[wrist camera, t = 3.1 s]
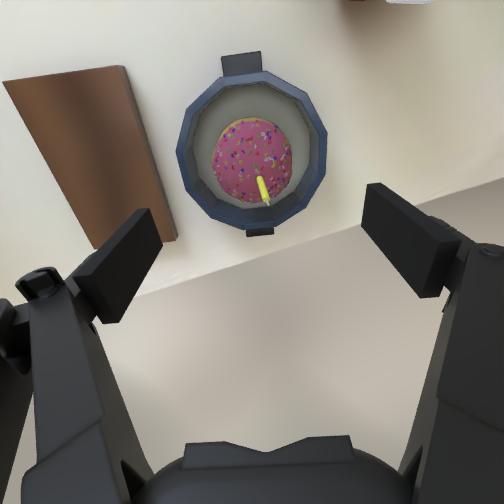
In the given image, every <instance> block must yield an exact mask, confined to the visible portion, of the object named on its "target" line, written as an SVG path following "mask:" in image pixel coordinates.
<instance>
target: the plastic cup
mask: <svg viewBox="0 0 504 504" xmlns="http://www.w3.org/2000/svg"><path fill="white" fill-rule="evenodd" d="M356 1H364V0H356ZM386 1H387V2H389V3H410V4H426V3H429V2H431V1H433V0H386Z"/></svg>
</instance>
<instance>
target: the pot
mask: <svg viewBox="0 0 504 504" xmlns="http://www.w3.org/2000/svg"><path fill="white" fill-rule="evenodd" d="M221 62H222V69H223V76H224V77H219V78H218V79H217V80H216V81H215V82H214V83H213V84H212V85H211V86H210V87H209V88H208V89H207V90H206V91H205V92H204V93H203V94H201V95H200V96H199V97H198V98H197V99H196V100H195V101H194V102H193V103H192V104H191V105H190V106H189V107H188V108H187V109H186V112H185V116H184V120H183V124H182V128H181V132H180V136H179V140H178V144H177V148H176V156H177V159H178V163H179V167H180V171H181V174H182V178H183V182H184V186H185V189H186V191H187V192H188V194H189V195H190V196H191V197H192V198H193V199H194V200H195V201H196V202H197V203H198V205H199V206H200V207H201V208H202V209H203V210H204V211H205V212H206V213H207V214H208V215H209V217H210V218H212V219H215V220H218V221H220V222H223V223H225V224H228V225H231V226H233V227H236V228H239V229H241V230H246V236H247V237H253V236H263V235H272V234H274V227H277V226H278V225H280V224H281V223H283V222H284V221H286V220H287V219H289V218H291V217H292V216H294V215H295V214H297V213H298V212H300V211H302V210H303V209H305V208H306V207H307V205H308V203H309V202H310V200H311V198H312V196H313V195H314V193H315V191H316V190H317V188H318V186H319V185H320V183H321V181H322V180H323V178H324V176H325V173H326V153H327V131H326V129H325V127H324V125H323V123H322V121H321V119H320V117H319V116H318V114H317V112H316V110H315V108H314V106H313V104H312V102H311V100H310V98H309V96H308V94H307V93H306V92H304V91H302V90H300V89H299V88H297V87H295V86H293V85H291V84H289V83H288V82H286V81H284V80H282V79H280V78H279V77H277V76H275V75H273V74H271V73H269V72H268V71H262V58H261V51H256V52H249V53H242V54H235V55H228V56H222V57H221ZM260 83H263V84H265V85H267V86H269V87H271V88H272V89H274V90H276V91H278V92H280V93H282V94H284V95H286V96H287V97H289V98H291V99H293V100H294V101H295V103H296V105H297V107H298V109H299V111H300V112H301V114H302V116H303V118H304V120H305V121H306V123H307V125H308V127H309V129H310V165H309V167H308V168H307V170H306V172H305V174H304V176H303V177H302V179H301V181H300V183H299V185H298V187H297V188H296V190H295V191H294V192H293V193H291V194H290V195H288V196H287V197H285V198H284V199H282V200H281V201H279V202H278V203H276V204H275V205H273V206H272V207H264V208H255V209H246V210H244V209H241V208H239V207H236V206H234V205H231V204H229V203H226V202H224V201H221V200H219V199H218V198H217V197H216V196H215V195H214V194H213V193H212V191H211V190H210V189H209V188H208V187H207V186H206V184H205V183H204V182H203V181H202V180H201V179H200V177H199V175H198V170H197V166H196V162H195V157H194V153H193V149H192V143H193V139H194V136H195V132H196V128H197V125H198V121H199V118H200V114H201V112H202V111H203V110H204V109H205V108H206V107H207V106H208V105H209V104H210V103H211V102H212V101H214V100H215V99H216V98H217V97H218V96H219V95H220V94H221V93H222V92H223V91H224V90H225V89H227V88H230V87H238V86H245V85H252V84H260Z"/></svg>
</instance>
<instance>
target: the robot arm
mask: <svg viewBox="0 0 504 504" xmlns="http://www.w3.org/2000/svg"><path fill="white" fill-rule="evenodd" d="M361 227H362V228H363V229H364V230H365V231H366V233H367V234H368V235H369V236H370V238H371V239H372V240H373V241H374V243H375V244H376V245H377V246H378V247H379V249H380V250H381V251H382V252H383V253H384V255H385V256H386V257H387V258H388V260H389V261H390V262H391V263H392V264H393V266H394V267H395V268H396V269H397V271H398V272H399V273H400V274H401V276H402V277H403V278H404V279H405V280H406V282H407V283H408V284H409V285H410V287H411V288H412V289H413V290H414V292H415V293H416V294H417V295H418V296H419V298H431V297H439V296H440V294H441V291H442V289H443V286H445V287H446V288H447V289H448V290H449V291H450V294H449V297H448V299H447V301H446V304H445V306H444V309H443V310H442V312H443V313H444V314H443V317H442V321H441V325H440V328H439V332H438V336H437V339H436V343H435V346H434V350H433V354H432V357H431V361H430V365H429V368H428V372H427V376H426V379H425V383H424V387H423V390H422V394H421V397H420V401H419V404H418V408H417V412H416V416H415V419H414V423H413V426H412V430H411V433H410V437H409V441H408V444H407V447H406V450H405V453H404V455H403V458H402V461H401V463H400V466H399V469H398V472H397V471H396V470H395V469H394V468H392V467H391V466H389V465H388V464H387V463H385V462H383V461H382V460H380V459H378V458H377V457H375V456H373V455H371V454H369V453H366V452H364V451H361V450H358V449H355V448H353V447H352V443H351V440H350V436H349V435H344V436H323V437H307V438H305V439H302V440H299V441H297V442H294V443H292V444H289V445H287V446H284V447H281V448H279V449H276V450H274V451H271V452H261V451H257V450H253V449H250V448H247V447H243V446H239V445H236V444H232V443H229V442H225V441H222V442H204V443H203V442H202V443H186V445H185V451H184V456H183V457H181V458H179V459H177V460H175V461H173V462H171V463H169V464H168V465H166V466H165V467H164V468H162V469H161V470H159V471H158V472H157V473H156V474H155V475H154V473H153V471H152V469H151V468H150V466H149V464H148V462H147V460H146V458H145V456H144V454H143V451H142V448H141V446H140V443H139V440H138V438H137V435H136V433H135V430H134V427H133V425H132V422H131V419H130V417H129V414H128V411H127V409H126V406H125V404H124V401H123V398H122V396H121V393H120V390H119V388H118V385H117V382H116V380H115V377H114V375H113V372H112V369H111V367H110V364H109V361H108V359H107V356H106V353H105V351H104V348H103V345H102V343H101V340H100V338H99V335H98V332H97V330H96V327H95V326H94V324H93V323H92V321H93V320H94V318H95V317H96V315H97V316H98V318H99V319H100V321H101V322H102V324H110V323H119V322H120V320H121V318H122V317H123V315H124V313H125V311H126V310H127V308H128V306H129V304H130V303H131V301H132V299H133V297H134V296H135V294H136V292H137V290H138V289H139V287H140V285H141V283H142V282H143V280H144V278H145V277H146V275H147V273H148V271H149V270H150V268H151V266H152V264H153V263H154V261H155V259H156V257H157V256H158V254H159V252H160V250H161V249H162V247H163V244H162V241H161V238H160V235H159V233H158V230H157V227H156V224H155V222H154V219H153V216H152V213H151V211H150V208H142V209H137V210H136V211H135V212H134V213H133V214H132V215H131V216H130V217H129V218H128V219H127V220H126V221H125V222H124V223H123V224H122V225H121V226H120V227H119V229H118V230H117V231H116V232H115V233H114V234H113V235H112V236H111V237H110V238H109V239H108V240H107V241H106V242H105V243H104V244H103V245H102V246H101V247H100V248H99V249H98V250H97V251H96V252H94V253H92V254H91V255H89V256H88V257H87V258H86V259H85V260H84V261H83V263H81V264H80V265H79V266H78V268H76V269H75V270H74V271H73V272H72V273H71V274H70V275H69V276H68V277H67V278H66V279H65V280H63V279H62V278H61V276H60V275H59V273H58V272H57V270H56V269H55V268H54V267H44V268H40V269H37V270H34V271H32V272H30V273H28V274H26V275H25V276H23V277H21V278H20V279H19V280H18V281H17V282H16V284H15V286H16V288H17V289H18V290H19V291H20V292H21V294H22V295H23V296H24V297H25V298H26V300H27V301H28V303H24V304H21V305H17V306H13V305H12V304H11V303H10V302H9V301H8V300H7V299H0V504H2V503H3V499H4V495H5V492H6V488H7V485H8V480H9V477H10V474H11V470H12V466H13V463H14V459H15V456H16V452H17V448H18V445H19V441H20V438H21V434H22V430H23V427H24V423H25V419H26V416H27V412H28V409H29V405H30V401H31V398H32V394H33V396H34V414H35V430H36V448H37V463H36V465H34V466H33V467H32V468H30V469H29V470H27V471H26V472H25V474H24V476H23V478H22V484H21V504H504V247H502V246H499V245H495V244H487V243H476V242H474V241H473V240H471V239H470V238H468V237H467V236H465V235H464V234H462V233H460V232H459V231H457V230H456V229H455V228H453V227H450V225H449V224H447V223H445V222H444V221H443V220H441V219H438V218H435V217H433V216H427V215H426V214H424V213H423V212H421V211H420V210H419V209H417V208H416V207H415V206H413V205H412V204H410V203H409V202H407V201H406V200H405V199H403V198H402V197H400V196H399V195H397V194H396V193H395V192H393V191H392V190H390V189H389V188H388V187H386V186H385V185H383V184H382V183H372V184H367V188H366V195H365V202H364V209H363V216H362V223H361Z"/></svg>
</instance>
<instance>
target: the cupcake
mask: <svg viewBox="0 0 504 504" xmlns="http://www.w3.org/2000/svg"><path fill="white" fill-rule="evenodd" d="M291 165H292V152H291V146H290V144H289V142H288V140H287V138H286V137H285V135H284V133H283V132H282V131H281V130H280V129H279V128H278V127H277V126H276V125H275V124H273V123H270V122H268V121H266V120H264V119H261V118H258V117H250V118H243V119H239V120H236V121H234V122H233V123H231V124H230V125H229V126H228V127H227V128H226V129H225V130H224V131H223V132H222V134H221V136H220V138H219V140H218V142H217V144H216V146H215V149H214V151H213V155H212V168H213V171H214V174H215V176H216V180H217V181H218V182H219V184H220V185H221V187H222V190H223V191H225V192H226V193H228V194H229V195H231V196H233V197H235V198H237V199H239V200H240V201H242V202H252V203H256V202H261V201H263V202H264V203H267V205H268V206H270V204H269V201H270V198H272V197H273V196H274V197H276V195H277V194H279V193H280V192H281V191H282V190H283V189H284V188H286V187H287V184H288V183H289V180H290V178H291V175H292V170H291Z"/></svg>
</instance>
